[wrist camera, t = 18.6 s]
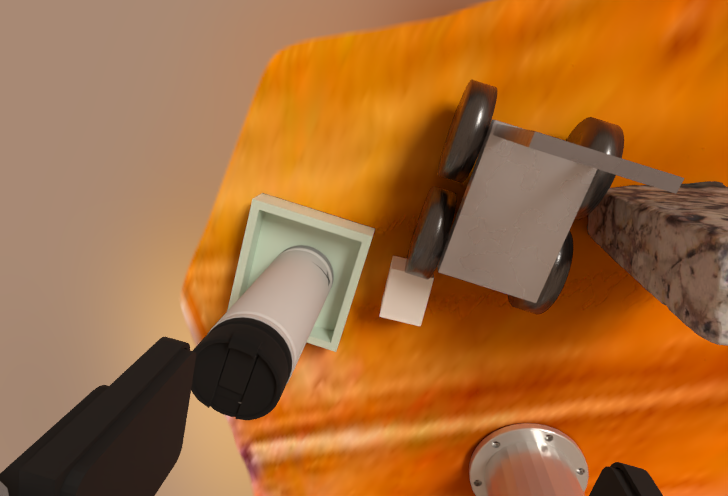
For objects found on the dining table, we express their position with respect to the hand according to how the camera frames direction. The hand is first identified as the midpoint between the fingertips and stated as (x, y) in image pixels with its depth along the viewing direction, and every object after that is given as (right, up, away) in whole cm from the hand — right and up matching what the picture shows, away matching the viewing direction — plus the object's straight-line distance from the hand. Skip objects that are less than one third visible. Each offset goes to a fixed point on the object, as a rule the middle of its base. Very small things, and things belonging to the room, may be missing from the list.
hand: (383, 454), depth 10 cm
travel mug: (-6, +2, +37) cm, 37 cm away
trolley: (+12, +10, +33) cm, 36 cm away
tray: (-7, +3, +37) cm, 38 cm away
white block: (+4, +1, +37) cm, 37 cm away
